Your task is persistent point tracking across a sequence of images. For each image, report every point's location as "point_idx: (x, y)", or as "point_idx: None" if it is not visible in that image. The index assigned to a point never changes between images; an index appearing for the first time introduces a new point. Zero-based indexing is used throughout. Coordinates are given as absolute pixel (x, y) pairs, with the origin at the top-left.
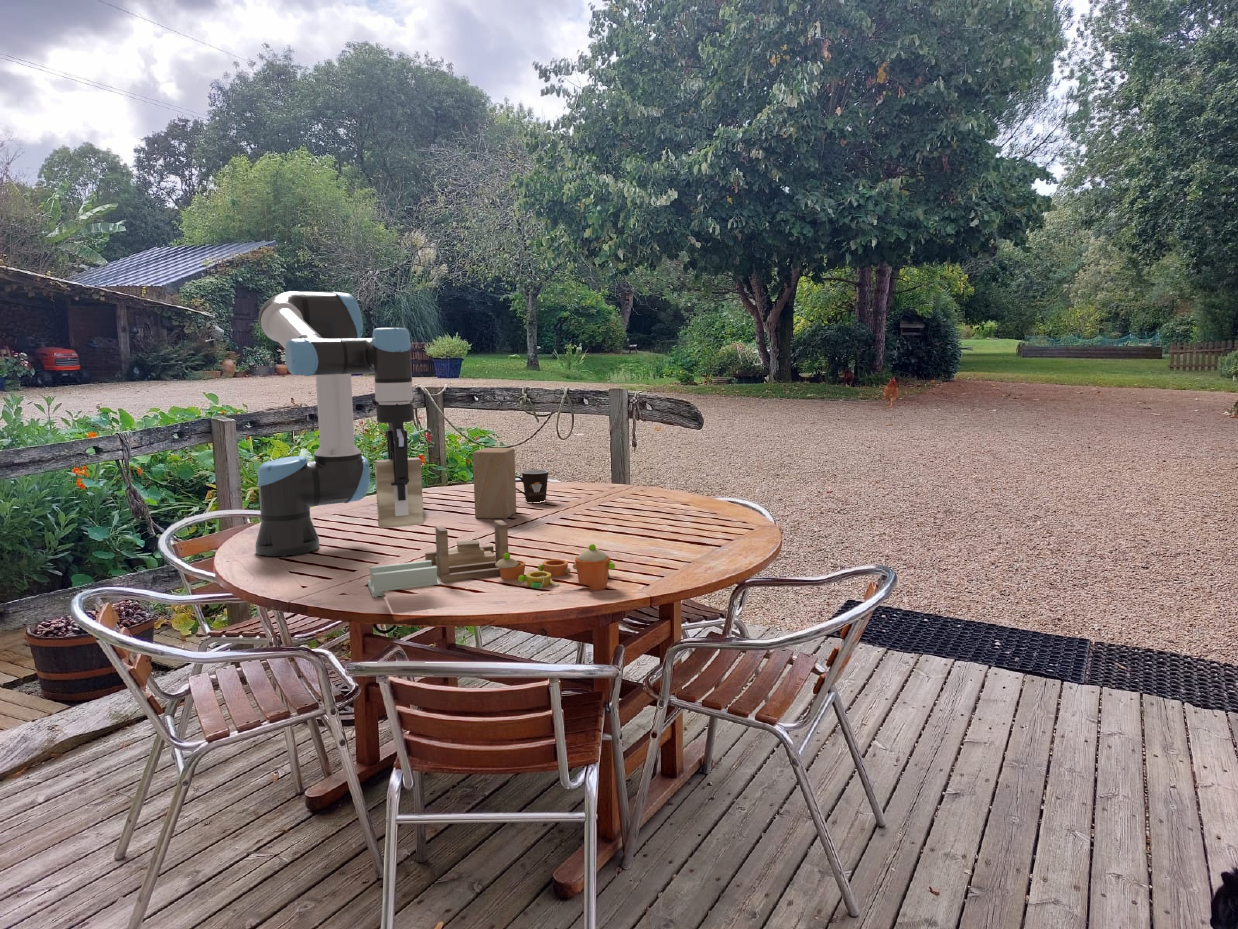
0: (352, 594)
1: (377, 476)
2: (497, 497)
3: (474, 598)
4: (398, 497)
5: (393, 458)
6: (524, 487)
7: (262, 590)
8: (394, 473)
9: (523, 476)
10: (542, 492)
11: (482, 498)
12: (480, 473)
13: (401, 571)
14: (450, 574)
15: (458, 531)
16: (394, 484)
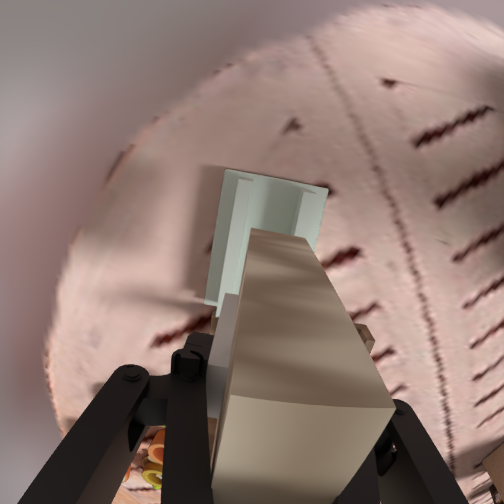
0: (277, 140)
1: (240, 318)
2: (501, 472)
3: (126, 320)
4: (193, 339)
5: (164, 501)
6: None
7: (403, 23)
8: (174, 413)
9: None
10: (493, 496)
11: None
12: None
13: (228, 243)
14: (212, 332)
15: (494, 410)
16: (177, 363)
